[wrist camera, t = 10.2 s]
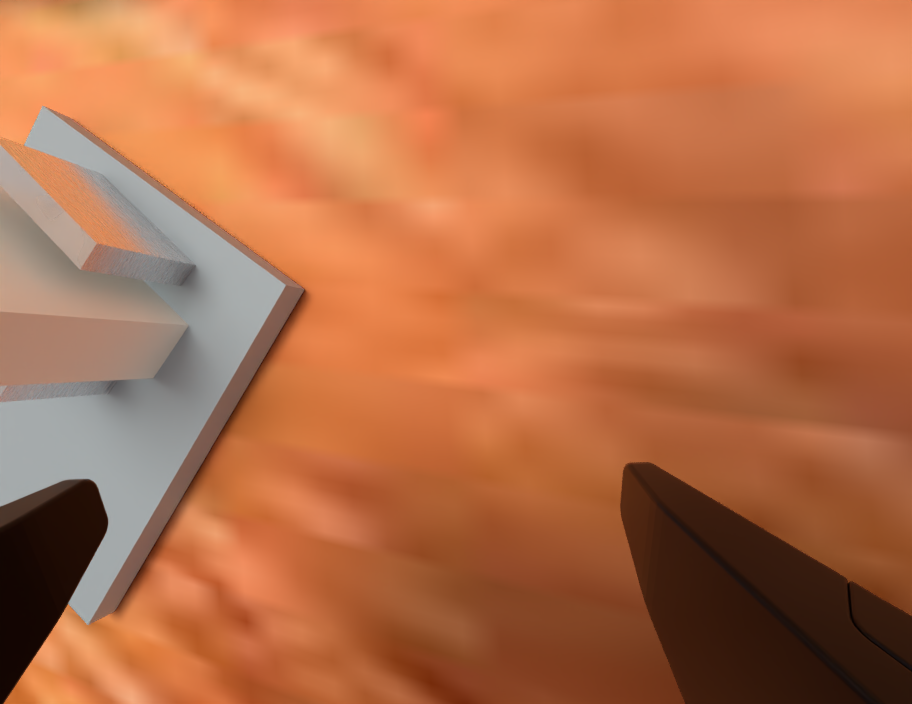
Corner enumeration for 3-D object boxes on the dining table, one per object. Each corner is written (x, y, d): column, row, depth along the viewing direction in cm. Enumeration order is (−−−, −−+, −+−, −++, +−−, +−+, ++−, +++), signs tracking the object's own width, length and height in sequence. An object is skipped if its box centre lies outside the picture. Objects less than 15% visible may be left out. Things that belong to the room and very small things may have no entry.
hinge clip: (196, 265, 20) (96, 243, 16) (109, 393, 21) (-4, 402, 17) (101, 173, 21) (-12, 132, 17) (24, 298, 22) (-99, 287, 18)
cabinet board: (304, 289, 20) (286, 285, 19) (114, 611, 22) (88, 625, 21) (70, 118, 23) (42, 105, 22) (-73, 414, 25) (-106, 417, 24)
